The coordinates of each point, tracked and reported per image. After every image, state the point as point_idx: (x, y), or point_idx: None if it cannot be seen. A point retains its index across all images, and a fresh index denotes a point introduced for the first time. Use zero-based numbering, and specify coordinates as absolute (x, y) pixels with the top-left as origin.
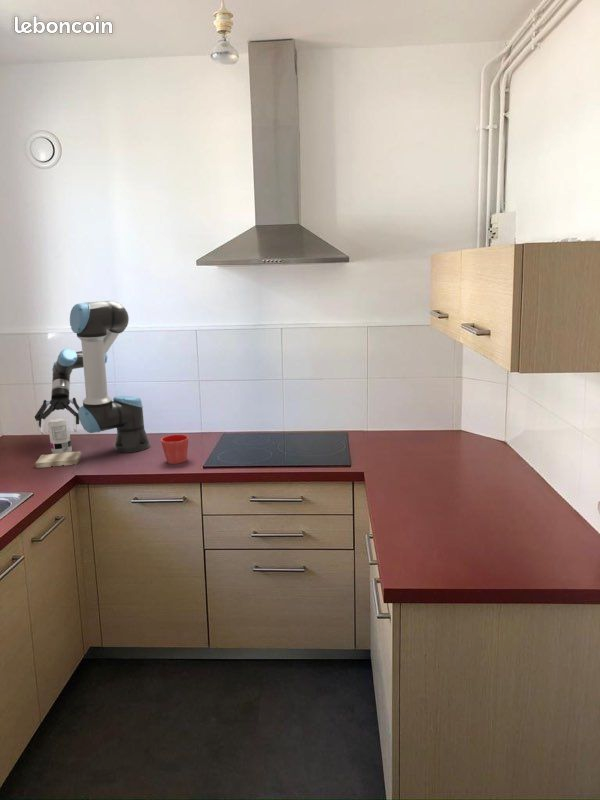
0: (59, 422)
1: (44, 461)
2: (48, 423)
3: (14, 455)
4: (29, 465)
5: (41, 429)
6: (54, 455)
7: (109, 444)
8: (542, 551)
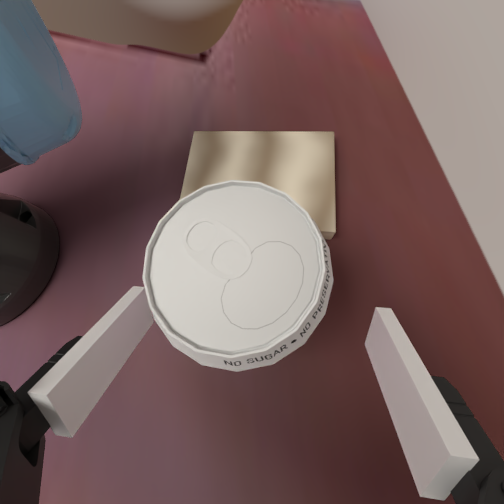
0: (215, 187)
1: (303, 143)
2: (329, 266)
3: (496, 366)
4: (362, 181)
5: (392, 322)
6: None
7: None
8: None
